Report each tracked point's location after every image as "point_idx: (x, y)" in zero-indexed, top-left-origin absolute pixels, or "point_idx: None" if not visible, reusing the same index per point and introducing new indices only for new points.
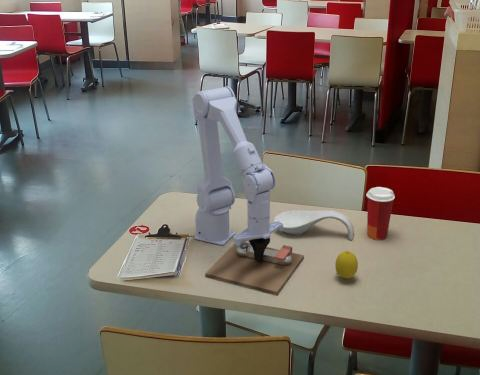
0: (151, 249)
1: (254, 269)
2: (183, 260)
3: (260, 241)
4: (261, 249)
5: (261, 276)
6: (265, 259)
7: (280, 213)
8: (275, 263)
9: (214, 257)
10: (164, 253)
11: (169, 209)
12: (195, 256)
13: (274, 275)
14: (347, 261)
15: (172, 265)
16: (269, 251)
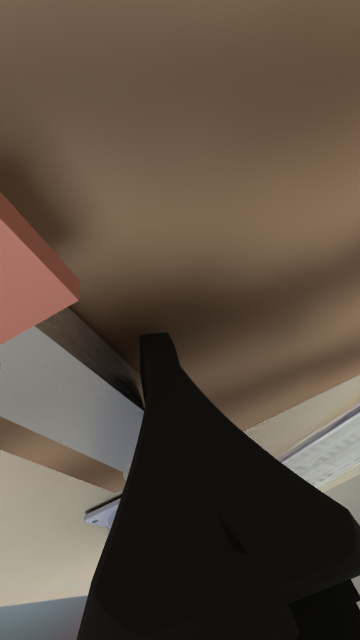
0: (311, 475)
1: (228, 291)
2: (314, 435)
3: (292, 602)
4: (212, 439)
5: (270, 177)
6: (101, 347)
7: None
8: None
9: (244, 430)
10: (310, 462)
11: None
12: (277, 443)
13: (172, 91)
14: None
15: (351, 424)
16: (38, 407)
